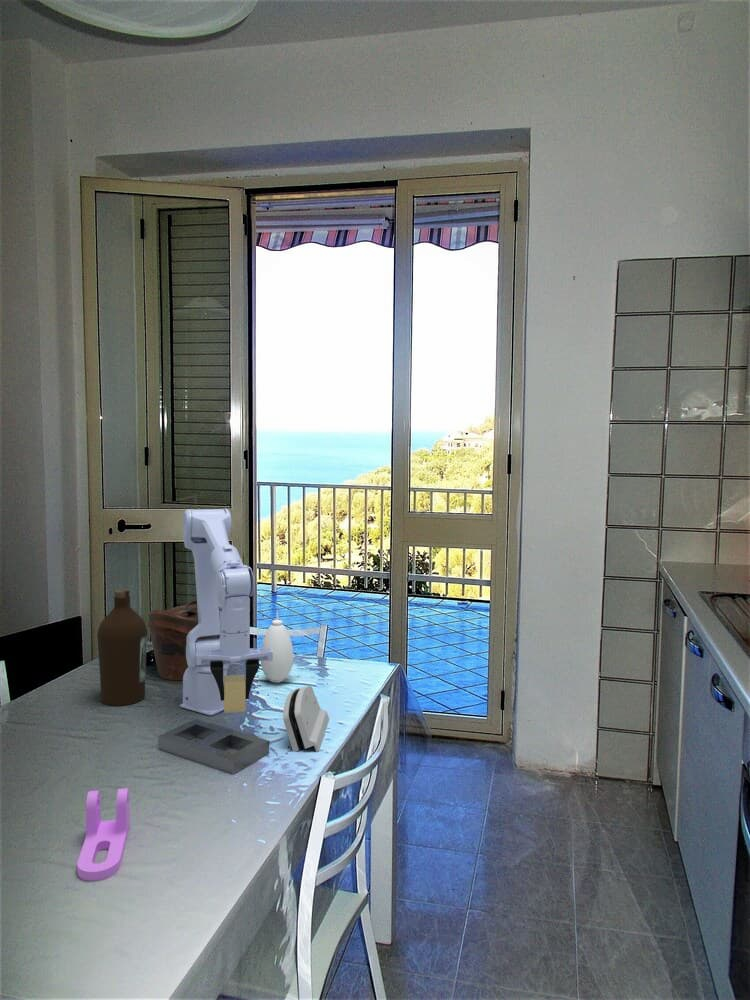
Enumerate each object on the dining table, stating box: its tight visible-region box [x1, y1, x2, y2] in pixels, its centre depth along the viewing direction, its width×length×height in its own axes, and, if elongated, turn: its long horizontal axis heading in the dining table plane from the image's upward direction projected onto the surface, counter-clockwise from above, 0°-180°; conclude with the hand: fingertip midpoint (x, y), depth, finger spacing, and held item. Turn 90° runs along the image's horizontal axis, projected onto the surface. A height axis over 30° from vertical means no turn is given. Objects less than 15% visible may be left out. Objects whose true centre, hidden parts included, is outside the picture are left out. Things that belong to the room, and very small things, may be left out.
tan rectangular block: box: [223, 674, 246, 714], centre depth 136 cm, size 4×4×6 cm
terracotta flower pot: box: [147, 600, 220, 681], centre depth 178 cm, size 18×20×18 cm
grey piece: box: [282, 685, 330, 753], centre depth 142 cm, size 17×5×10 cm, turn 177°
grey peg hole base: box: [157, 718, 270, 775], centre depth 133 cm, size 19×10×2 cm, turn 60°
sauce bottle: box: [260, 610, 294, 684], centre depth 171 cm, size 8×8×18 cm
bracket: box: [76, 787, 131, 882], centre depth 100 cm, size 13×6×7 cm, turn 13°
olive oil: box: [96, 588, 148, 707], centre depth 158 cm, size 11×11×25 cm
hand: (234, 698), depth 136 cm, fingers closed on tan rectangular block, 4 cm apart
